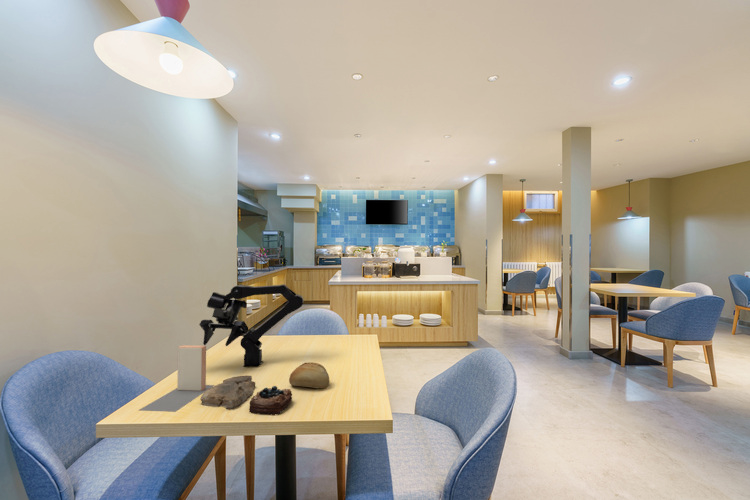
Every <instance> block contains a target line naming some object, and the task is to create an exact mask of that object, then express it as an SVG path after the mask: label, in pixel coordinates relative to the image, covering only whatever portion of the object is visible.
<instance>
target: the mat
mask: <svg viewBox="0 0 750 500" xmlns="http://www.w3.org/2000/svg"><path fill="white" fill-rule="evenodd" d="M214 386H215V384H206V388H205V389H204V390H202V391H189V390H177V387H175V388H174V389H172V390H171V391H169V392H168V393H166V394H163V395H162V396H160V397H158V398H157V399H156V400H153V401H152V402H151V403H148V404H147V405H145V406H143V407H142V408H140V409H139V411H143V412H144V411H145V412H168V413H169V412H172V413H176V412H177V411H179V410H181V409H182V408H183V407H185V406H187V405H188V404H190V403H191V402H192V401H194V400H196V399H197V398H199V396H200V395H201V396H202V395H203V393H204V392H205V391H206V390H208V389H209V388H211V387H214ZM201 396H200V397H201Z"/></svg>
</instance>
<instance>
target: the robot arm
mask: <svg viewBox="0 0 750 500" xmlns="http://www.w3.org/2000/svg"><path fill="white" fill-rule="evenodd" d="M276 294H278V295H279V294H280V295H281V296H282V297H283V298H285V300H286V301H287V302H286V303H285V304H284V306H283V307H282V308H281V309H280V310H278V311H277V312H276V313H274V314H273V315H272V316H271V317H269V318H268V319H267V320H266V321H265V322H263V323H262V324H261V325H260V326H258V327H256V328H254V326H253V327H251V328H250V329H249V326H248V325H247V324H246V322H245V320H238V319H239V317H238V315H239V313H240V311H241V309H242V308H244V309H247V306H248V303H247V301H246V300H245V299H246V298H248V297H252V296H261V295H262V296H263V295H276ZM244 298H245V299H244ZM241 299H244V300H241ZM303 304H304V297H303V296H302V295H301V294H298V293H296V292H295V291H293V289H291V288H290V287H288V286H287V284H285V283H284V284H283V283H282V284H275V285H261V286H260V285H259V286H253V285H248V284H247V285H245V284H239V285H234V286H233V287H232V288H231V289H230V292H229V293H227V294H226V295H225V294H222V293H219V292H215V291H213V292H212V293H211V295H210V297H209V299H208V300H207V305H206V308H210V309H213V312H212V315H211V316H212V318H215V321H216V322H214V321H213V320H212V319H202V320H201V321H200V322H199V324H198V325H199V326H200V328H201V329H202V330H203V332H204V333H203V342H202V344H203V346H207V344H208V343H209V342H210V340H211V338H212V336H214V332H215V330H216V329H223V330H230V334H229V335H228V337H227V340H226V341H225V347H229V345H231V344H232V343H233V342H234V341H235V340H237V339H238V338H239V337H241V336H242V338H241V339H240V342H239V343H240V346H241V347H242V348H243V350H244V354H243V364H244V365H243V368H248V367H249V368H251V367H255V368H257V367H260V366H261V365H262V364H263V363H264V360H262V359H263V352H262V351H263V350H262V349H261V348H262V345H263V342H261V340H260V339H261V338H262V337H263V336H264V334H266V333H268V332H269V331H270V329H272V328H274V326H276V325H277V324H278V323H279V322H280V321H282V320H283V319H284V318H285V317H287V315H289V314H291V313H293V312H295V311H297V310H299V309H301V307H303Z"/></svg>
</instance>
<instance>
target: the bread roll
mask: <svg viewBox="0 0 750 500" xmlns="http://www.w3.org/2000/svg"><path fill="white" fill-rule="evenodd" d="M288 383H289V384H290V385H291V386H295V387H297V386H298V387H305V388H313V389H325V388H327V387H328V386H330V376H329V373H328V371H327V369H326V367H325V366H324V365H322V364H321V363H318V362H304V363H302V364H299V366H297V367H295V369H294V370H293V371H292V372H291V373H290V375H289V379H288Z"/></svg>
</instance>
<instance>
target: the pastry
mask: <svg viewBox="0 0 750 500" xmlns="http://www.w3.org/2000/svg"><path fill="white" fill-rule="evenodd" d="M292 401H293V393H292V390H291V389H289V388H282V389H280V388H278V386H277V385H273V386H271V387H265V388H263V389H261V390H260V391H257V392H256V394H254V395H253V396H252V397H251V398H250V402H249V410H248V412H249V413H250V412H251V413H252V414H257V413H259V415H260V414H261V415H271V414H272V416H276V415H275V414H278V415H280V414H282V413H283V412H284V411H285V410H286V409H288V407H289V406H290V405H291V403H292ZM251 413H250V414H251Z"/></svg>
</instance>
